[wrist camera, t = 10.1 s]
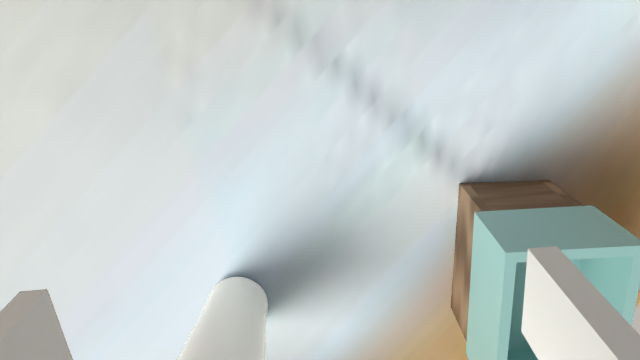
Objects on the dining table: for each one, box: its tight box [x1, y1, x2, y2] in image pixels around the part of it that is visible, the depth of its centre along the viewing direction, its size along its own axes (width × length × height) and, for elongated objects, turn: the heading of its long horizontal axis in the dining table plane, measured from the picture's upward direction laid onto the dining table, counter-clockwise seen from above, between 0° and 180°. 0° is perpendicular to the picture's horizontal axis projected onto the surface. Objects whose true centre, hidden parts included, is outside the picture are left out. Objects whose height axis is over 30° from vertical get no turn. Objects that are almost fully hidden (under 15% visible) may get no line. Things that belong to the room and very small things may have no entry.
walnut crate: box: [451, 180, 583, 342], centre depth 39 cm, size 12×7×6 cm, turn 2°
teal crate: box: [466, 205, 640, 360], centre depth 34 cm, size 12×8×7 cm
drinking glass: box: [177, 277, 268, 360], centre depth 36 cm, size 7×7×15 cm
